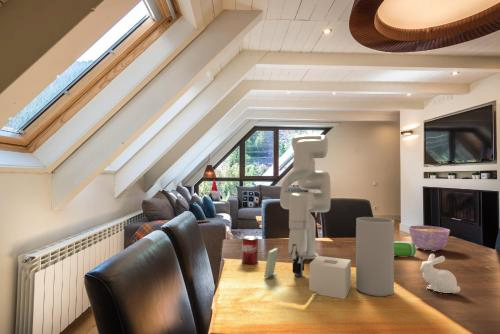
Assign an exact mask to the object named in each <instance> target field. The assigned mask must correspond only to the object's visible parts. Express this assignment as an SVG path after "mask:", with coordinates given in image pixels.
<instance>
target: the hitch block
mask: <svg viewBox="0 0 500 334" xmlns="http://www.w3.org/2000/svg"><path fill="white" fill-rule="evenodd" d="M308 264H309V270H308V271H309V274H308V276H309V277H308V279H309V280H308V282H309V283H308V285H309V286H308V287H309V289H308V290H309V291H313V294H315V295H319V296H325V297H331V298H337V299H342V300H345V299H346V298H347V296H348V294H349V292H350V289H351V288H352V287H351V285H352V283H351V282H352V281H351V279H352V274H351V273H352V259H348V258H347V259H346V258H340V257H330V256H321V255H318V256H317V257H316V258H315V259H312V261H310V263H308Z"/></svg>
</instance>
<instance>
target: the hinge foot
mask: <svg viewBox="0 0 500 334" xmlns="http://www.w3.org/2000/svg"><path fill="white" fill-rule="evenodd" d="M277 276H278V274H277V273H276V274H275V273H273V274H272V275H271V276H269V277H268V278H266V280H270V281H271V280H273V279H274V278H276V277H277Z"/></svg>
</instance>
